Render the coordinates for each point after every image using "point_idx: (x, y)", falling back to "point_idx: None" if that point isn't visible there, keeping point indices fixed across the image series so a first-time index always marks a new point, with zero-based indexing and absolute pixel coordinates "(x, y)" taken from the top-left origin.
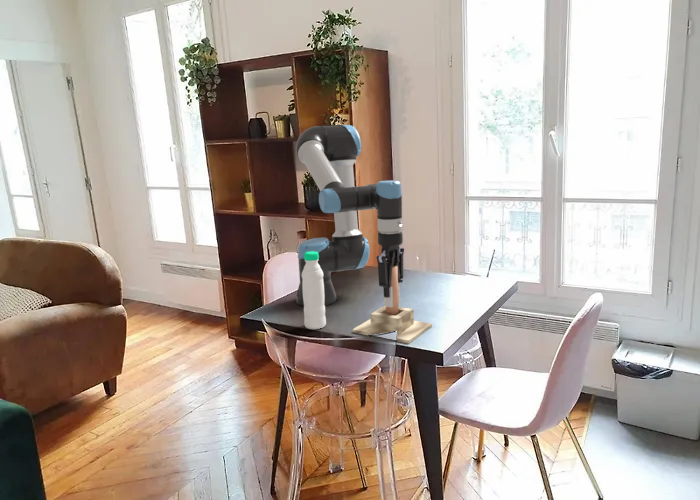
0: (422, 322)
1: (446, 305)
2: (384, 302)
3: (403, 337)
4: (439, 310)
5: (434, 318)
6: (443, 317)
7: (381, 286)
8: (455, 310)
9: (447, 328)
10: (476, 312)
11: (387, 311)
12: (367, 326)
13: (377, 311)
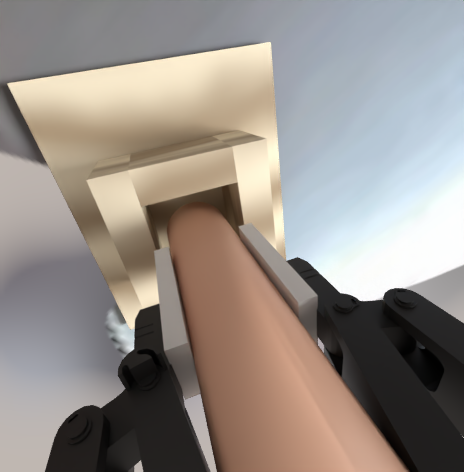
0: (281, 252)
1: (453, 182)
2: (156, 267)
3: (136, 304)
4: (409, 196)
5: (343, 231)
6: (359, 243)
7: (136, 357)
8: (419, 229)
9: None
10: (416, 273)
11: (170, 241)
12: (107, 122)
13: (149, 181)
